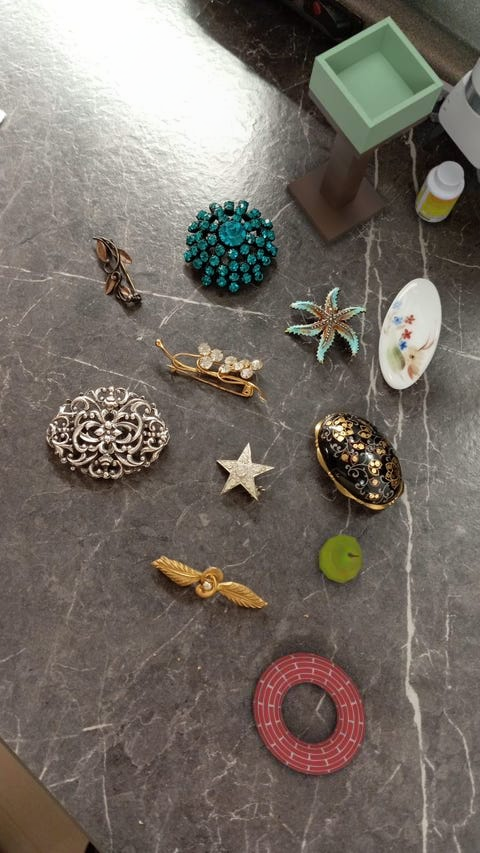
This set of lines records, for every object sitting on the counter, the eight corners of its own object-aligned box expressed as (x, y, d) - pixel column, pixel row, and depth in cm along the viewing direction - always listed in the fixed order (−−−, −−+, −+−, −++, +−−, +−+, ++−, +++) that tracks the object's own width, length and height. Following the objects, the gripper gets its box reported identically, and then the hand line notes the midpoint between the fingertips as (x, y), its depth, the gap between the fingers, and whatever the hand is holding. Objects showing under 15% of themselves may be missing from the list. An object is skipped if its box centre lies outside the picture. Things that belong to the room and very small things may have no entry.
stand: (343, 156, 141) (379, 47, 116) (384, 210, 139) (430, 112, 114) (285, 189, 139) (309, 87, 113) (327, 245, 137) (360, 153, 112)
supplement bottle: (454, 218, 139) (475, 185, 129) (420, 227, 139) (439, 194, 129) (441, 187, 140) (461, 151, 131) (408, 195, 140) (426, 160, 130)
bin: (379, 46, 116) (389, 15, 110) (431, 112, 114) (444, 84, 108) (308, 86, 113) (315, 57, 108) (360, 154, 112) (369, 128, 106)
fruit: (321, 532, 126) (335, 520, 114) (364, 544, 126) (382, 533, 114) (310, 577, 124) (323, 569, 113) (353, 589, 124) (371, 582, 113)
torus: (230, 688, 120) (232, 689, 117) (318, 631, 123) (322, 630, 119) (296, 796, 117) (299, 800, 114) (384, 734, 120) (390, 737, 116)
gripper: (563, 129, 110) (511, 196, 127) (478, 23, 113) (438, 102, 129) (516, 158, 108) (469, 222, 125) (431, 50, 111) (396, 127, 128)
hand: (453, 161), depth 127 cm, fingers open, 9 cm apart
